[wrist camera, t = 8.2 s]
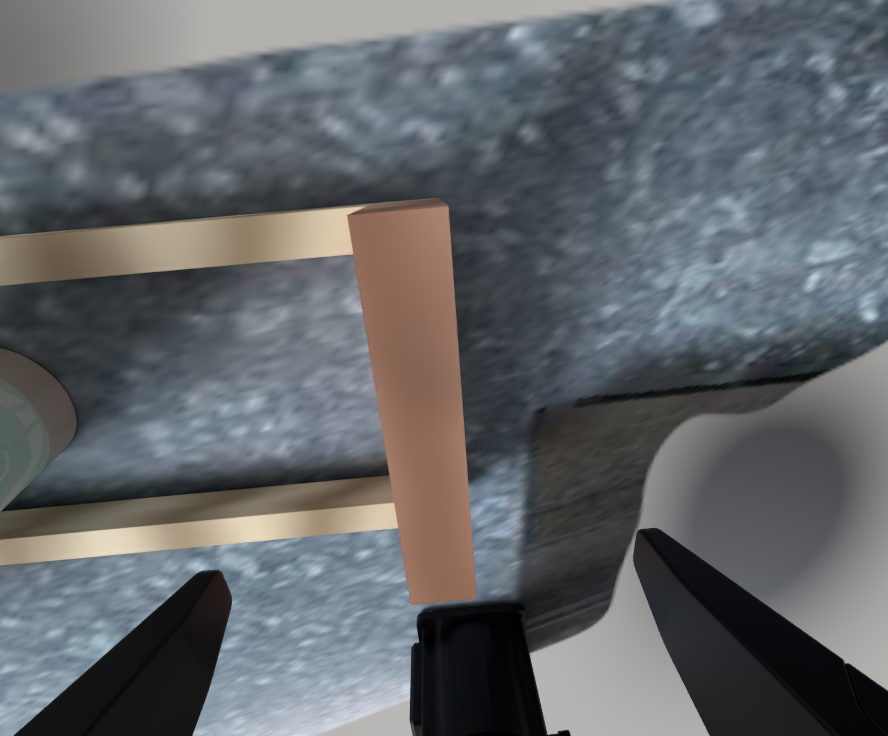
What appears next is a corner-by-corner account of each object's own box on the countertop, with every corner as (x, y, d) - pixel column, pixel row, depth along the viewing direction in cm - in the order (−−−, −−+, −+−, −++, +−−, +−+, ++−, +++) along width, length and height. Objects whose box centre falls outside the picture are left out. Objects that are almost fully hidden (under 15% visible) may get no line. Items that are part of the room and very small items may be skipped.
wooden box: (439, 197, 16) (448, 206, 10) (462, 492, 22) (476, 598, 16) (-239, 257, 16) (-593, 298, 10) (-36, 539, 21) (-193, 662, 16)
